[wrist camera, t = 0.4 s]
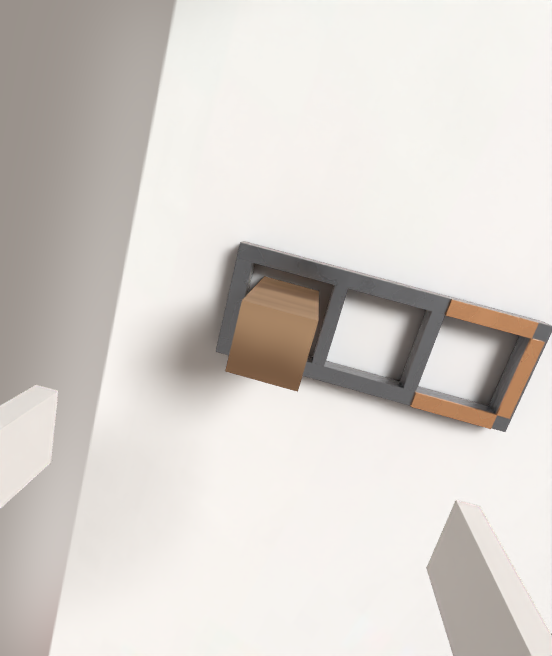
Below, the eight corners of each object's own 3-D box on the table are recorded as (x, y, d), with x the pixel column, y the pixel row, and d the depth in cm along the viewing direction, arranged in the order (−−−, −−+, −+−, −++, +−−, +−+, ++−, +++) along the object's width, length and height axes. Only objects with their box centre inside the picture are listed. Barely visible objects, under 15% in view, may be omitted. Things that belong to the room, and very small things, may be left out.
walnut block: (264, 276, 33) (242, 300, 24) (318, 290, 33) (318, 321, 23) (251, 328, 34) (225, 371, 25) (303, 342, 34) (297, 391, 25)
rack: (243, 241, 33) (239, 242, 31) (543, 321, 32) (555, 327, 30) (219, 346, 35) (215, 352, 33) (497, 423, 34) (506, 433, 33)
